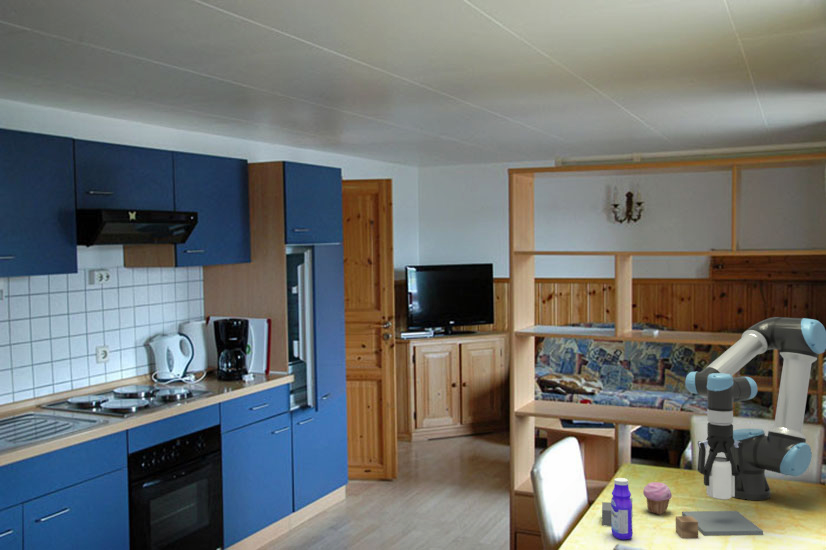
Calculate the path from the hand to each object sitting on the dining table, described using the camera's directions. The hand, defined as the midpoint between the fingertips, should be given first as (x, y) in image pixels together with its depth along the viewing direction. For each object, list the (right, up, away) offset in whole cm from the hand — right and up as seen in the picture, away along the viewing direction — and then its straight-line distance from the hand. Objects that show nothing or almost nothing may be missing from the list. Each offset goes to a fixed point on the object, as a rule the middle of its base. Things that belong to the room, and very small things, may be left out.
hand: (720, 495), depth 228 cm
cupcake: (-16, -10, +12) cm, 22 cm away
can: (0, -1, 0) cm, 1 cm away
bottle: (-34, -10, -9) cm, 36 cm away
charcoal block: (-34, -10, +4) cm, 36 cm away
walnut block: (-14, -10, -8) cm, 19 cm away
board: (0, -9, 0) cm, 9 cm away
